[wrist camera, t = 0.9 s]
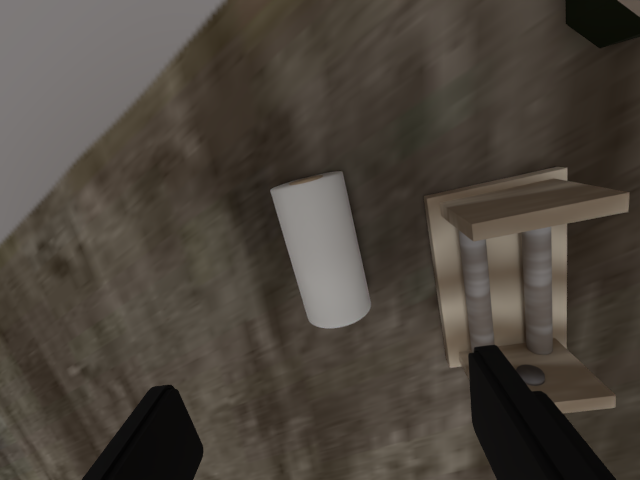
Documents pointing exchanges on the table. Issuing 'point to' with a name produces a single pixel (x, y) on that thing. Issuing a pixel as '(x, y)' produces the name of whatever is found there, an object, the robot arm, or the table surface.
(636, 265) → the table surface
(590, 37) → the wine bottle
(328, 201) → the paper roll
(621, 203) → the roll cradle
